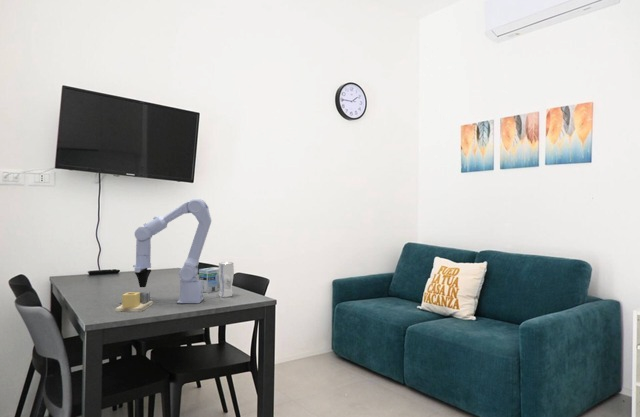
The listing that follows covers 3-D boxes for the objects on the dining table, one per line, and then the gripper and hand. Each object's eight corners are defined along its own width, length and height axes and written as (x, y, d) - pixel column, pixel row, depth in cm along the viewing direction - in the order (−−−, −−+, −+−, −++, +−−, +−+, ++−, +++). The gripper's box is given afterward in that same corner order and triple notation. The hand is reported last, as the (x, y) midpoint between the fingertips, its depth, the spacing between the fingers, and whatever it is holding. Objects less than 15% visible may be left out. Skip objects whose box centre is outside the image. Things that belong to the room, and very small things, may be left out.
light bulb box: (207, 293, 206) (207, 270, 206) (197, 291, 210) (198, 269, 210) (224, 289, 215) (224, 267, 215) (214, 288, 219) (214, 266, 219)
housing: (149, 300, 181) (149, 292, 181) (145, 303, 176) (145, 294, 176) (127, 300, 181) (127, 292, 181) (122, 303, 176) (122, 294, 176)
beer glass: (229, 297, 196) (230, 264, 196) (215, 296, 198) (215, 263, 198) (235, 294, 203) (236, 262, 203) (221, 294, 204) (222, 262, 204)
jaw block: (139, 304, 174) (140, 292, 174) (135, 307, 169) (135, 294, 169) (127, 304, 174) (127, 292, 174) (122, 307, 169) (122, 294, 169)
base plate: (152, 304, 182) (152, 295, 182) (141, 311, 169) (141, 301, 169) (127, 304, 181) (128, 295, 181) (115, 311, 168) (115, 301, 168)
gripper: (139, 253, 193) (139, 283, 193) (127, 256, 178) (126, 290, 178) (155, 253, 193) (155, 284, 193) (144, 257, 179) (144, 290, 179)
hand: (142, 287), depth 186 cm, fingers closed
